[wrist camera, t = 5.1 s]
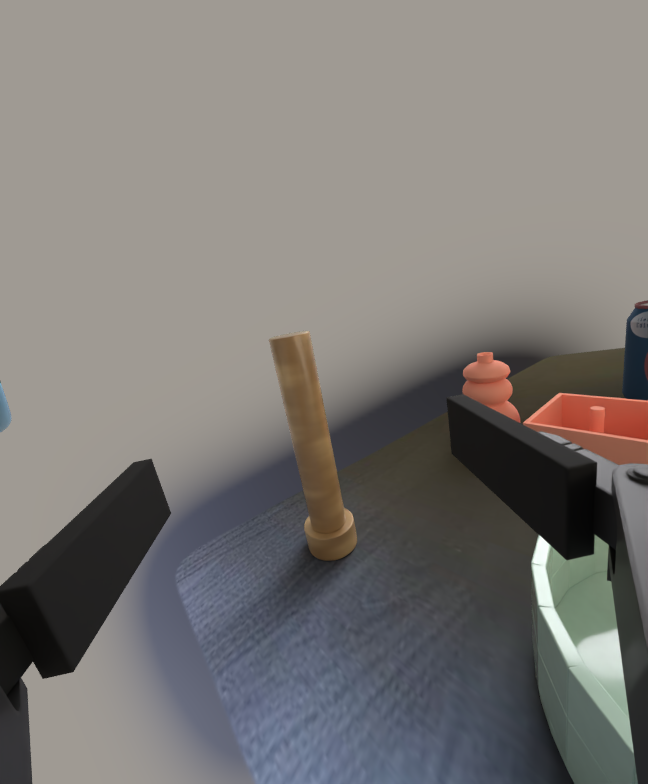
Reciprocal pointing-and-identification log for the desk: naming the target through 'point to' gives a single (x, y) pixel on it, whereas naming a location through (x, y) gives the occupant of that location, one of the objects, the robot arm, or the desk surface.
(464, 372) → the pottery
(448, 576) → the desk surface
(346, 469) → the desk surface
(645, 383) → the soda can
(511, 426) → the robot arm
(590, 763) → the bowl
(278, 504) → the desk surface
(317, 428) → the pestle
